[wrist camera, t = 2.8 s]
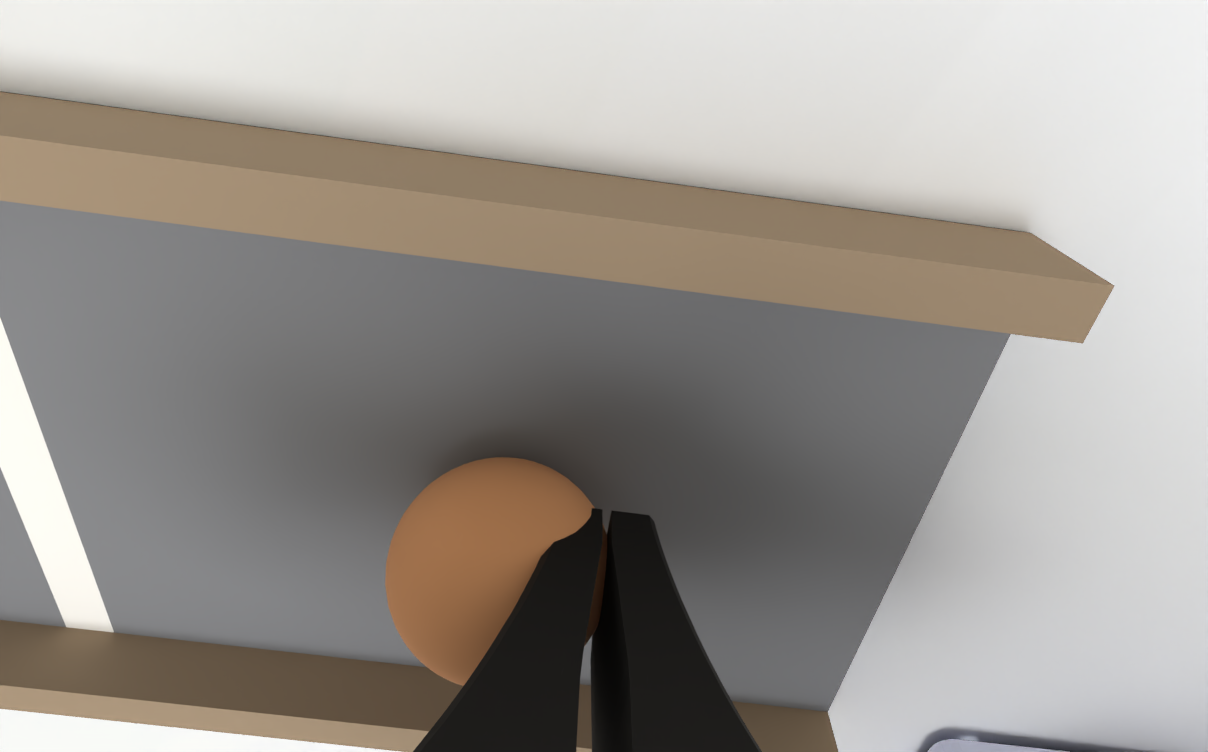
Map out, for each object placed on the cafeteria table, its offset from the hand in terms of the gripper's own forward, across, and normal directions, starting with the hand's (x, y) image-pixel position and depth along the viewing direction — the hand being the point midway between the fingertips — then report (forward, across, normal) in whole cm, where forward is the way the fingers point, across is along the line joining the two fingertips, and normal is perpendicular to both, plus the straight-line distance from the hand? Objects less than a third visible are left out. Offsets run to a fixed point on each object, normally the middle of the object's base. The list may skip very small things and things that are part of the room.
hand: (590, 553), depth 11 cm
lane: (+2, +7, 0) cm, 7 cm away
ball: (+1, +2, 0) cm, 2 cm away
